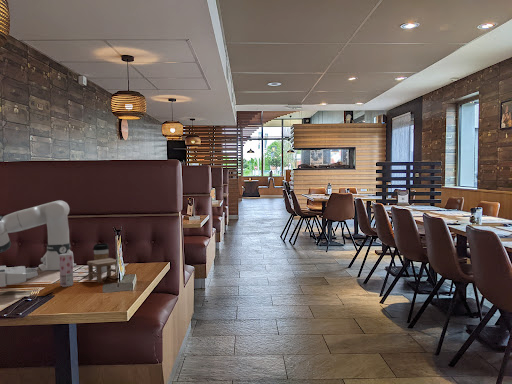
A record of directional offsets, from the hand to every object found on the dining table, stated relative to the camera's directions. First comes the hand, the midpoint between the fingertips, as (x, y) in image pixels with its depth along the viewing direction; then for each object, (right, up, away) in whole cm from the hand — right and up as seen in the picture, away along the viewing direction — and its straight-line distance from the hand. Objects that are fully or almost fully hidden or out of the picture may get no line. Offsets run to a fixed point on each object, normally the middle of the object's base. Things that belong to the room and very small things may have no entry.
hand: (37, 271), depth 183 cm
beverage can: (+11, -8, +6) cm, 15 cm away
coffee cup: (+16, -7, +36) cm, 40 cm away
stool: (+24, -7, +19) cm, 31 cm away
